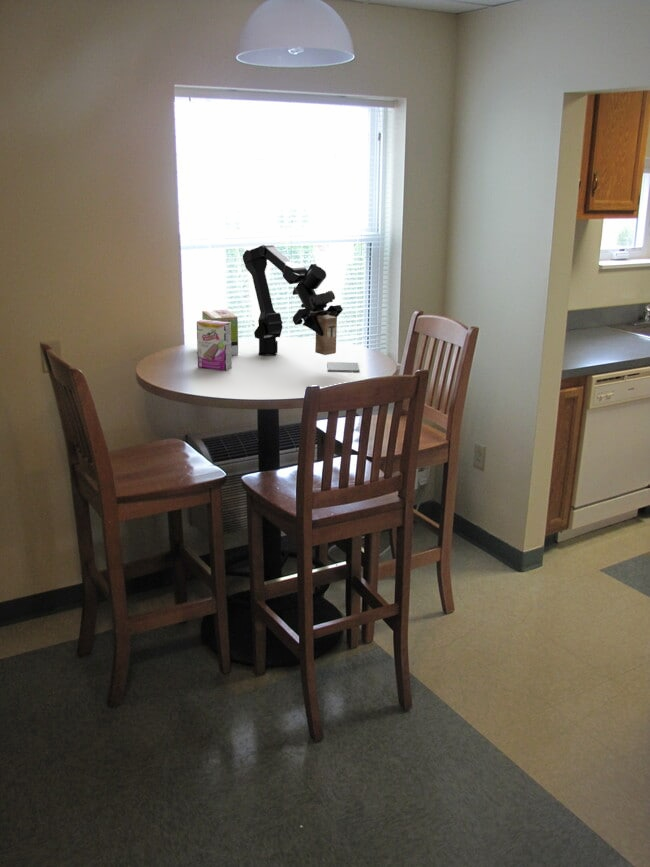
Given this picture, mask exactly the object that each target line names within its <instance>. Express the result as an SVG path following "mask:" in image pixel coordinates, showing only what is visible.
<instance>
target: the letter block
mask: <svg viewBox="0 0 650 867" xmlns="http://www.w3.org/2000/svg"><path fill="white" fill-rule="evenodd" d="M317 321H318V323H319V325H320V327H321V329H322V331H323V333H324V335H323V336H320V335H319V334H318V333H316V332H315V348H314V349H315V352H314V353H315V354H316V353H317V354H319V355H323V356H328V355H333V354H337V333H338V332H337V329H338V328H337V327H338V326H337V325H338V317H334V316H330V315H323V316H317Z"/></svg>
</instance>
